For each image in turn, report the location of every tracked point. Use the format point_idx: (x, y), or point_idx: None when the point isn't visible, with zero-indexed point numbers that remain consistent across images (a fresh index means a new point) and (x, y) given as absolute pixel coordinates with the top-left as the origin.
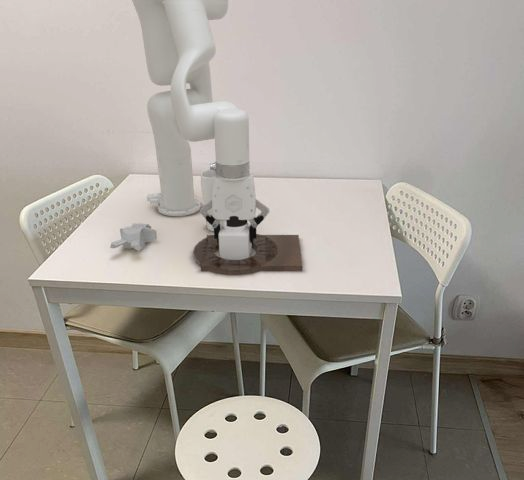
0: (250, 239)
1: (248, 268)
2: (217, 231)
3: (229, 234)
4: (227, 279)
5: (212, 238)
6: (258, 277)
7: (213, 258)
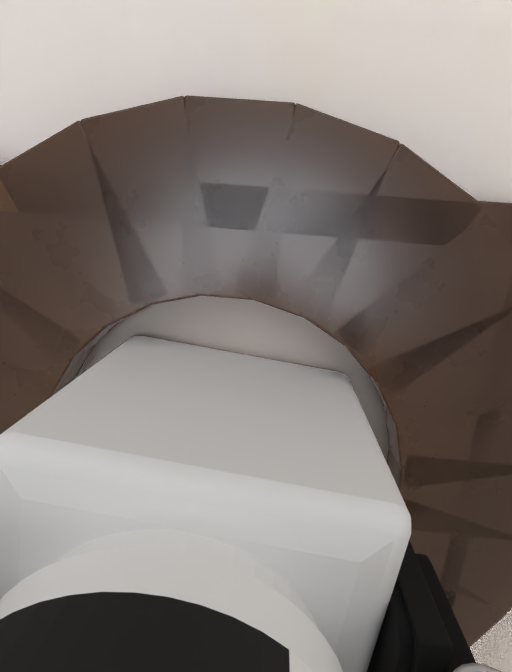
0: None
1: (105, 116)
2: (421, 602)
3: (252, 495)
4: (305, 41)
5: None
6: (44, 62)
7: (415, 337)
